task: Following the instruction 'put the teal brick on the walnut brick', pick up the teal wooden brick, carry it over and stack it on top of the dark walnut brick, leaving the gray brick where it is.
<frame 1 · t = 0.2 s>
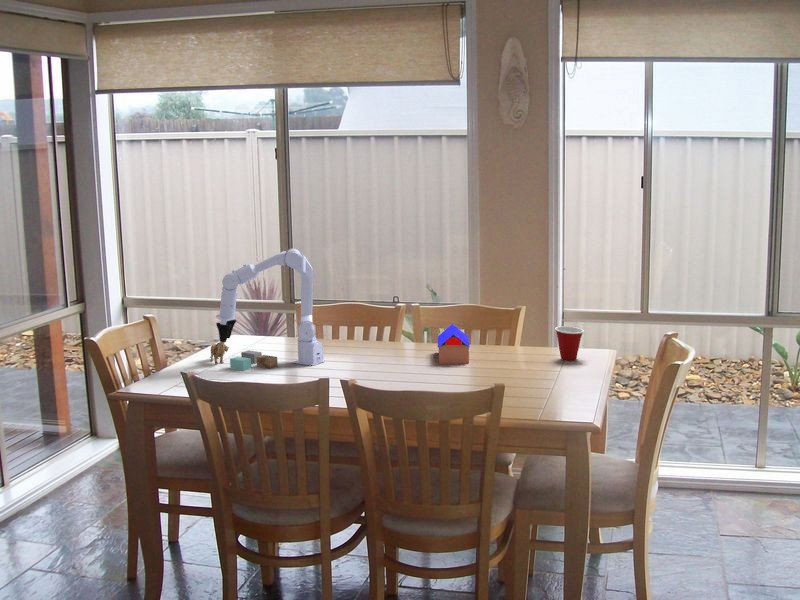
hand: (224, 339, 340), 10 cm above the table, tool pointing down, fingers open, 7 cm apart
gray brick: (251, 362, 348), on the table
house: (453, 358, 347), on the table
lion figurine: (218, 362, 349), on the table
plastic cup: (569, 359, 340), on the table
teal brick: (240, 368, 338), on the table
walnut brick: (267, 367, 340), on the table
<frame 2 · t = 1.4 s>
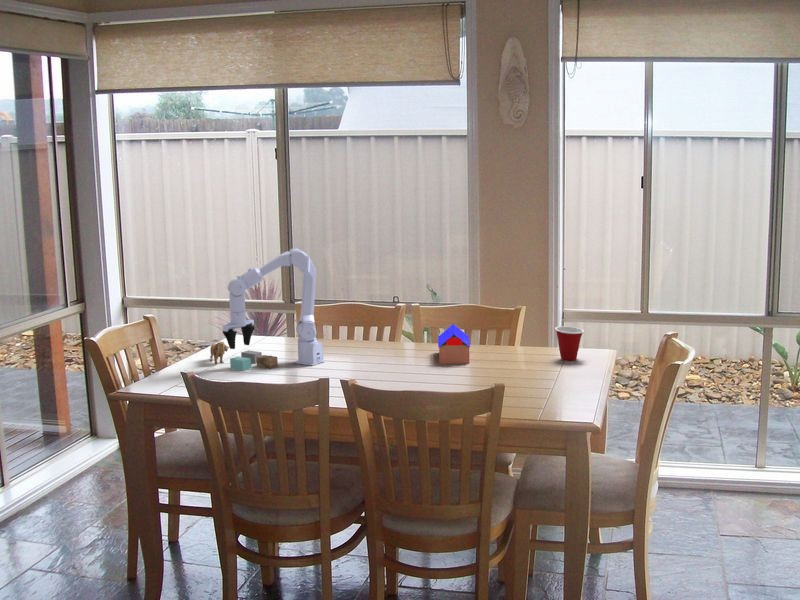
hand: (239, 346, 337), 8 cm above the table, tool pointing down, fingers open, 7 cm apart
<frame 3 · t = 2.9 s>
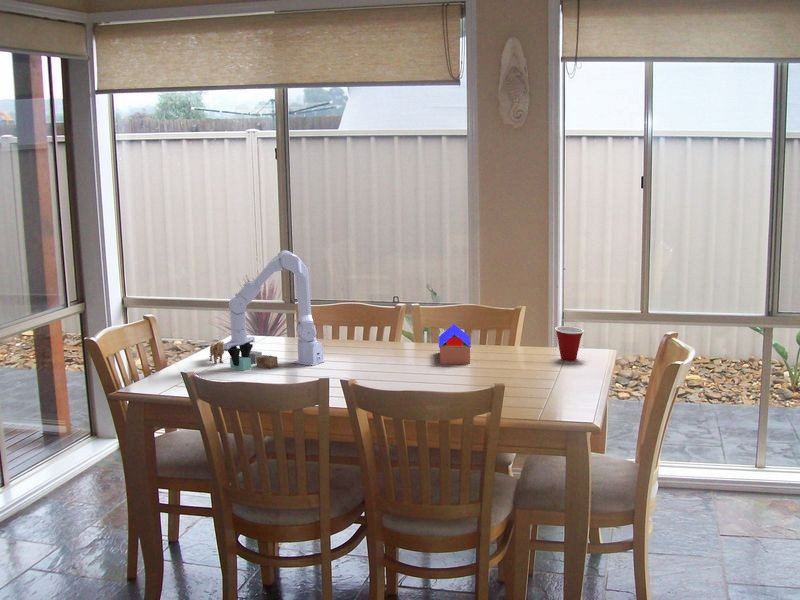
hand: (240, 364, 338), 2 cm above the table, tool pointing down, fingers closed on teal brick, 4 cm apart
teal brick: (240, 368, 338), on the table, touching gripper
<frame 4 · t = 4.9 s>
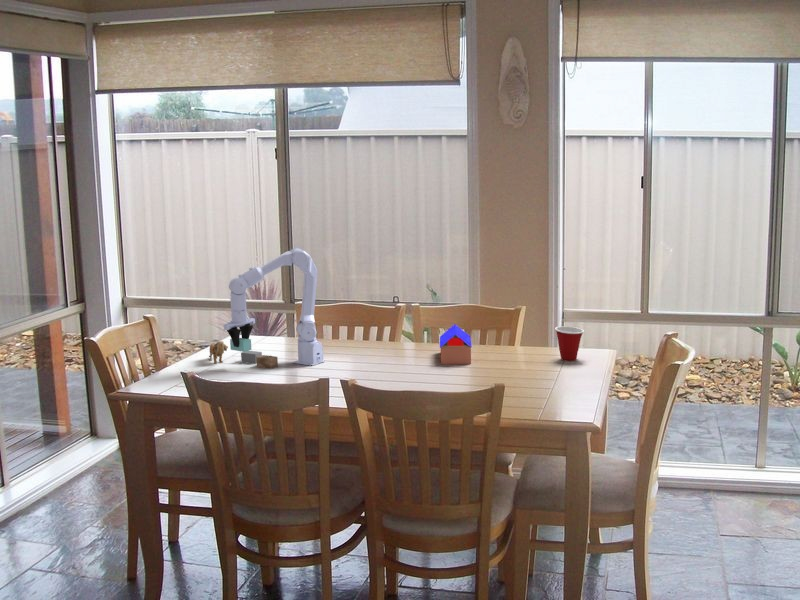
hand: (240, 345, 337), 9 cm above the table, tool pointing down, fingers closed on teal brick, 4 cm apart
teal brick: (241, 349, 337), point 7 cm above the table, touching gripper
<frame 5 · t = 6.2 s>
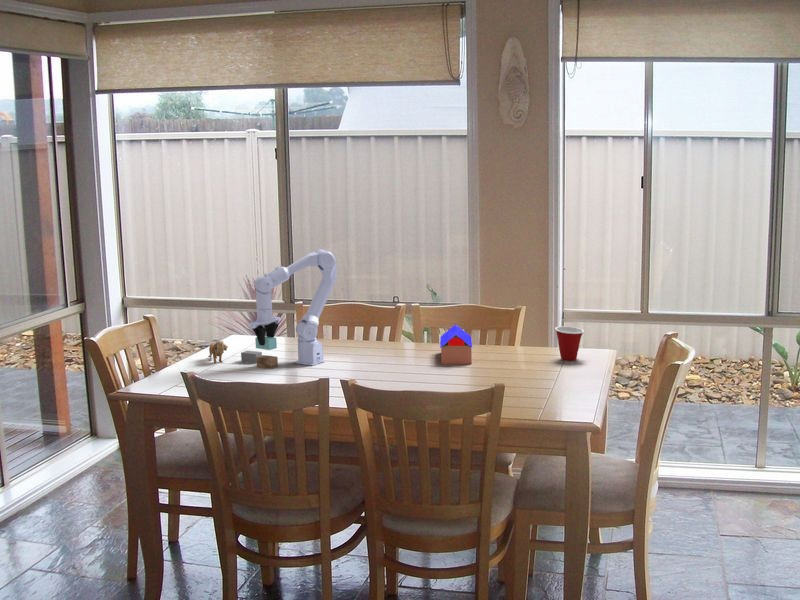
hand: (266, 343, 338), 9 cm above the table, tool pointing down, fingers closed on teal brick, 4 cm apart
teal brick: (266, 348, 339), point 7 cm above the table, touching gripper
when the fingers open (6 cm above the table, at t = 7.1 s): teal brick stays where it is, point 4 cm above the table.
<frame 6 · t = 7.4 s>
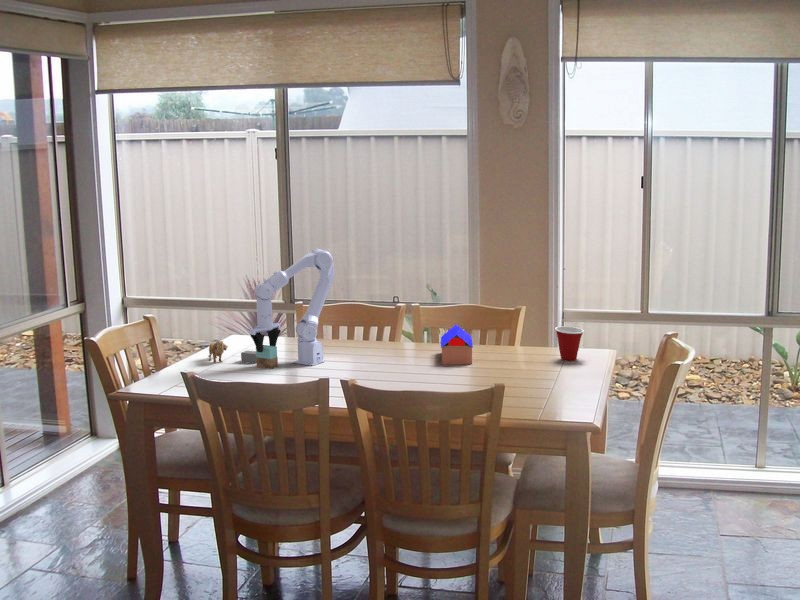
hand: (266, 350, 339), 6 cm above the table, tool pointing down, fingers open, 6 cm apart
teal brick: (266, 357, 339), point 4 cm above the table
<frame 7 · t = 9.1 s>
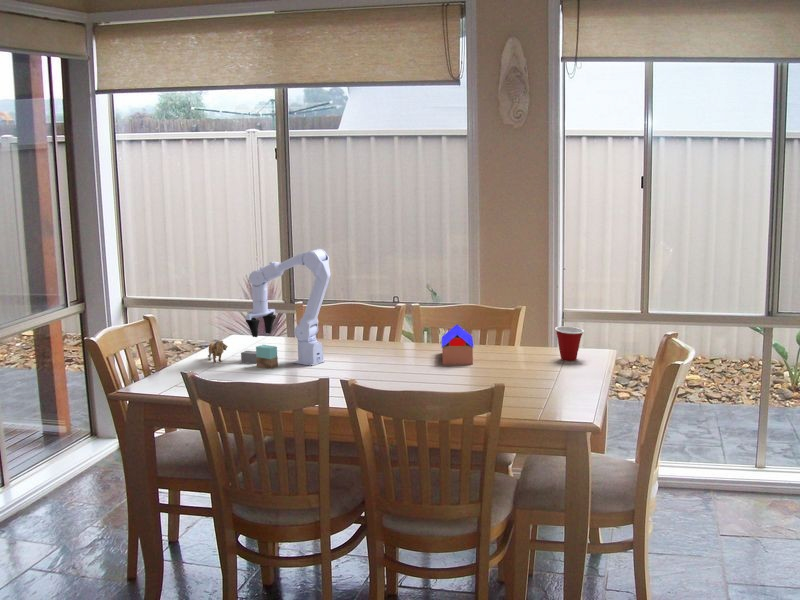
hand: (261, 335, 349), 10 cm above the table, tool pointing down, fingers open, 7 cm apart
teal brick: (266, 356, 339), point 4 cm above the table, touching walnut brick
walnut brick: (267, 367, 340), on the table, touching teal brick
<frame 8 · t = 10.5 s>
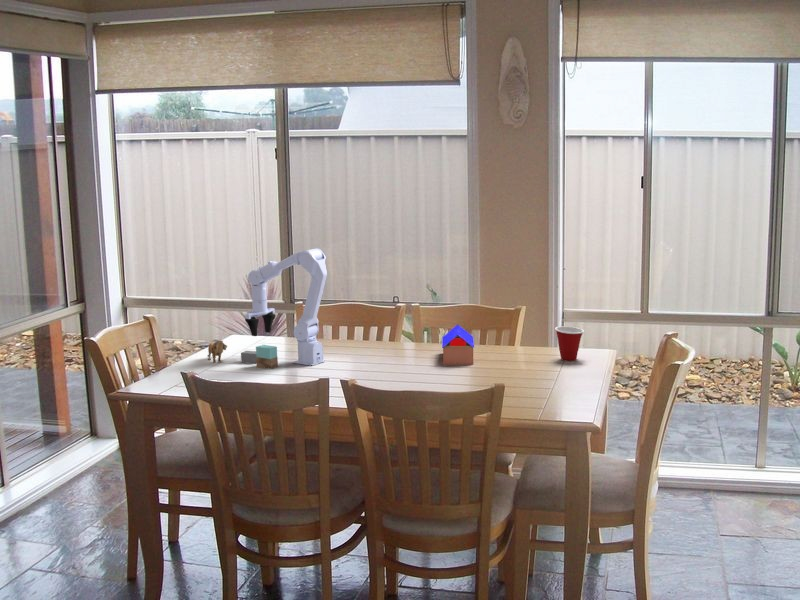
hand: (261, 334, 352), 10 cm above the table, tool pointing down, fingers open, 7 cm apart
teal brick: (266, 356, 339), point 4 cm above the table
walnut brick: (267, 367, 340), on the table
at the end: teal brick 0.1 cm off-centre on the walnut brick, point 4.0 cm above the walnut brick's base; teal brick tilted 0°; gray brick moved 0.2 cm from its start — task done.
